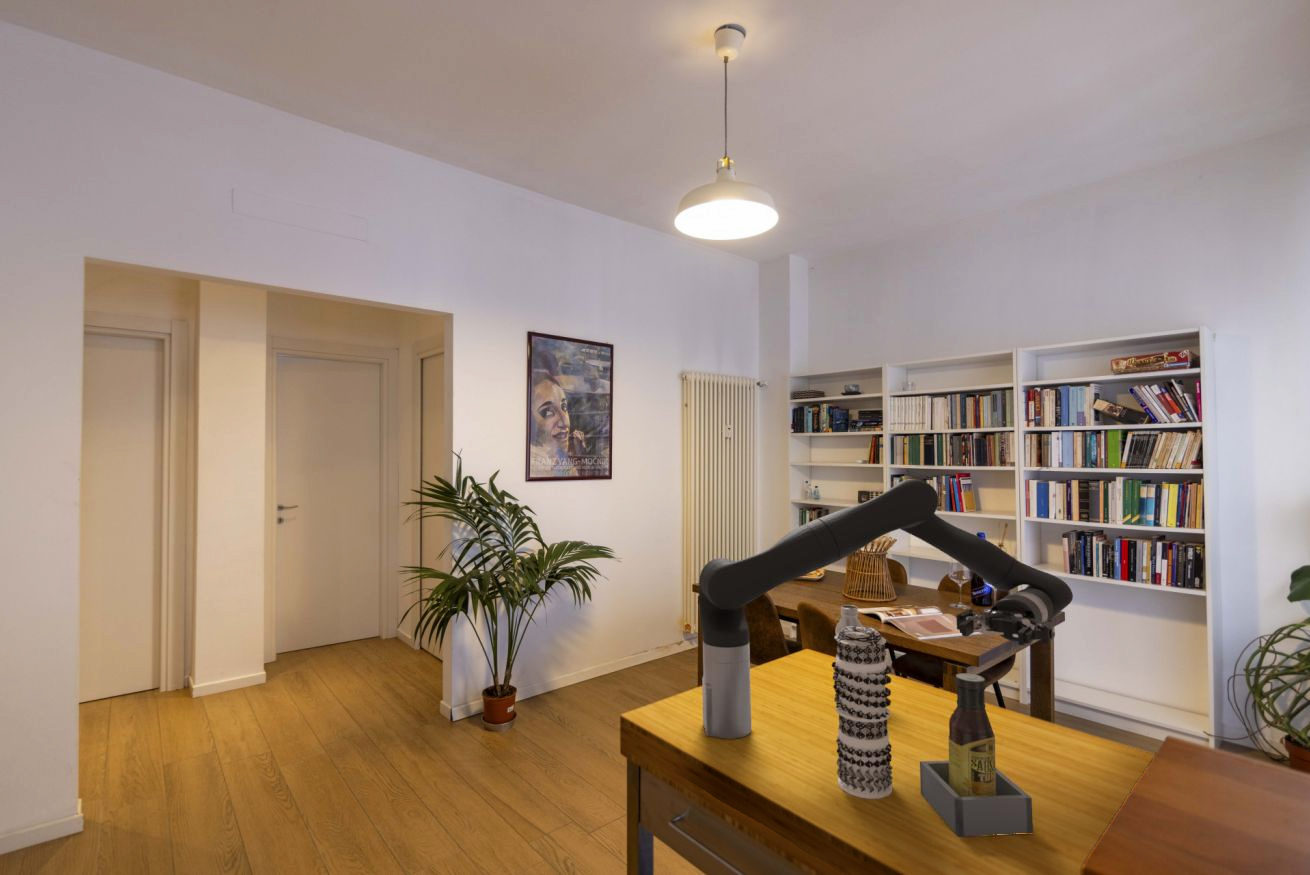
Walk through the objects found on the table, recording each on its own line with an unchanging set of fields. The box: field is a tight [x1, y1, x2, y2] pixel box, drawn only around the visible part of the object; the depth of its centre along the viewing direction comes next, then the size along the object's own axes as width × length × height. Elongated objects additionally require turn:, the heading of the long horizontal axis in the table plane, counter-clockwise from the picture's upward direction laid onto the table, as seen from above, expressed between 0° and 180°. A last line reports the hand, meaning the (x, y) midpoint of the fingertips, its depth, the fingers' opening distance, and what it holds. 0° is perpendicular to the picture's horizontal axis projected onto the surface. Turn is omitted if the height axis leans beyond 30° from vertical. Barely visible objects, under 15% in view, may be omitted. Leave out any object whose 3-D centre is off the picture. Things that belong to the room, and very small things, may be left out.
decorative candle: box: [831, 625, 893, 800], centre depth 103 cm, size 9×9×25 cm
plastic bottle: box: [834, 604, 863, 688], centre depth 141 cm, size 6×7×20 cm
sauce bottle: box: [948, 672, 997, 797], centre depth 94 cm, size 6×6×20 cm
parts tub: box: [919, 760, 1034, 838], centre depth 94 cm, size 11×12×5 cm
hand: (991, 634), depth 103 cm, fingers open, 8 cm apart
